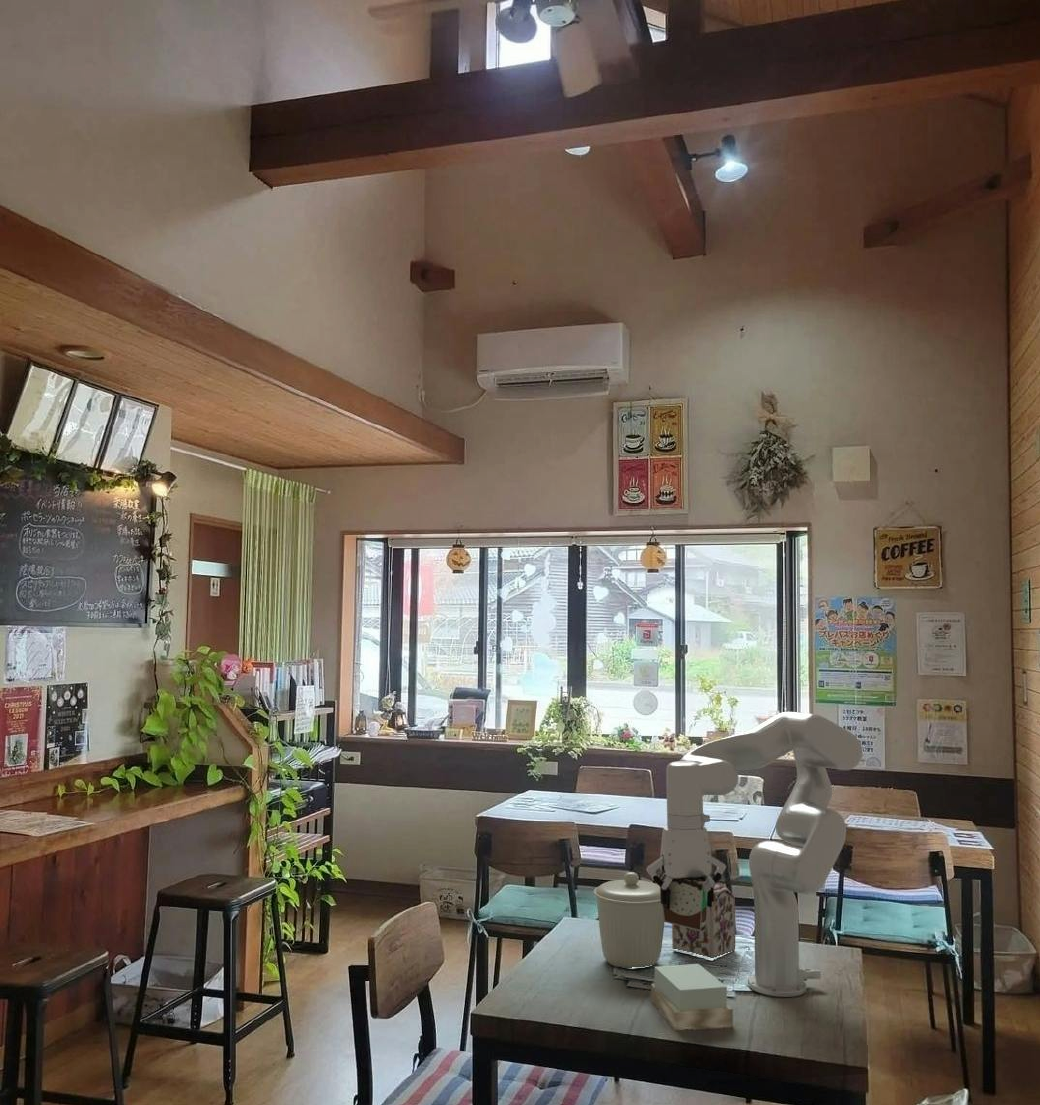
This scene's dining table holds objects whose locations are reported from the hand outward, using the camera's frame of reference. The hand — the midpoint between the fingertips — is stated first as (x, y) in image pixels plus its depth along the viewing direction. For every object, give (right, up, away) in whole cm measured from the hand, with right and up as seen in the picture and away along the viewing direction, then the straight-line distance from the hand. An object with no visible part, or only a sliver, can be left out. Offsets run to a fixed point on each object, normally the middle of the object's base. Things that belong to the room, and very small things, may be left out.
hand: (687, 906), depth 205 cm
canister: (-8, -24, +29) cm, 39 cm away
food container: (+1, -4, 0) cm, 4 cm away
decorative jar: (+11, -25, +38) cm, 46 cm away
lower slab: (0, -22, -2) cm, 22 cm away
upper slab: (0, -18, -2) cm, 18 cm away
